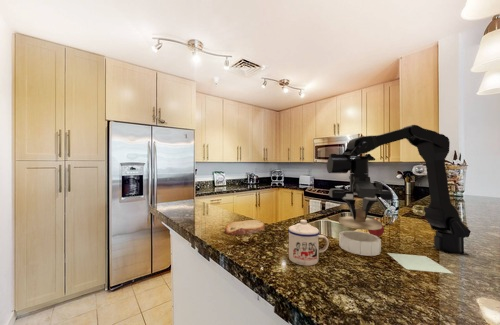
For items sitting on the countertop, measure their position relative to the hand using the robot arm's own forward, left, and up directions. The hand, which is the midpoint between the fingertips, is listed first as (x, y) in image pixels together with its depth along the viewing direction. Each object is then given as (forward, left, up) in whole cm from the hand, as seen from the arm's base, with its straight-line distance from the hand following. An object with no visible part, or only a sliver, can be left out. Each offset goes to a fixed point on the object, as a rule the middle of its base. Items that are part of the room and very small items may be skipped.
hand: (359, 219), depth 70 cm
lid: (0, 0, -2) cm, 2 cm away
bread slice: (+43, -14, -11) cm, 46 cm away
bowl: (0, 0, -10) cm, 10 cm away
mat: (-13, +8, -10) cm, 18 cm away
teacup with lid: (+18, +12, -11) cm, 24 cm away
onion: (-11, -15, -11) cm, 21 cm away
